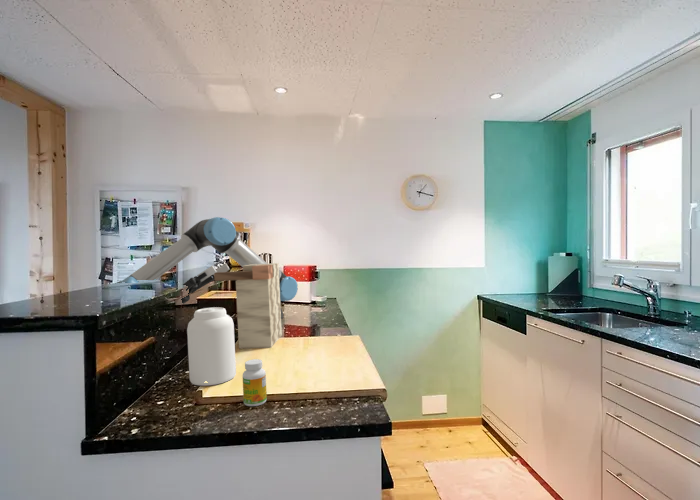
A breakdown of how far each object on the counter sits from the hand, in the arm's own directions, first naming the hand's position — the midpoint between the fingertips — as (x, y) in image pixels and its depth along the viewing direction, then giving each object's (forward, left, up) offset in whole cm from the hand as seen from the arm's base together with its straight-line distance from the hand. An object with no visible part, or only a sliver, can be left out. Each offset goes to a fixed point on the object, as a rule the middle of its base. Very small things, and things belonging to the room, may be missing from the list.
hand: (221, 267), depth 143 cm
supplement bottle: (+52, +27, -30) cm, 66 cm away
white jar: (+35, +10, -30) cm, 47 cm away
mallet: (0, +8, -5) cm, 9 cm away
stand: (-5, +13, -30) cm, 33 cm away
